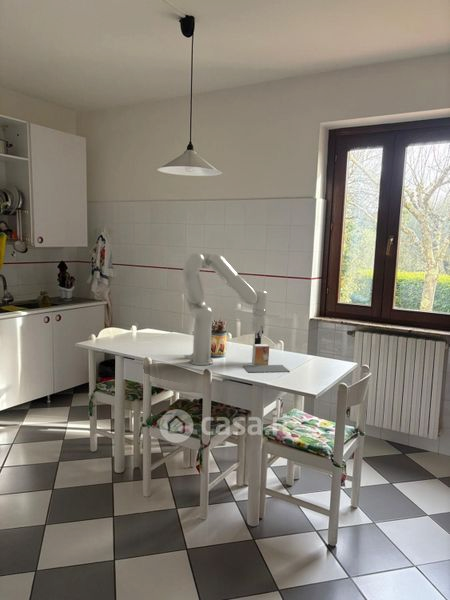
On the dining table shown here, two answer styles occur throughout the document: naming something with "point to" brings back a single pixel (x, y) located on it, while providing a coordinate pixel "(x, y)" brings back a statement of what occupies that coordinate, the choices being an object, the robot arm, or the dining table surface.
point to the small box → (260, 354)
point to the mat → (265, 368)
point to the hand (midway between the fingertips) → (257, 344)
